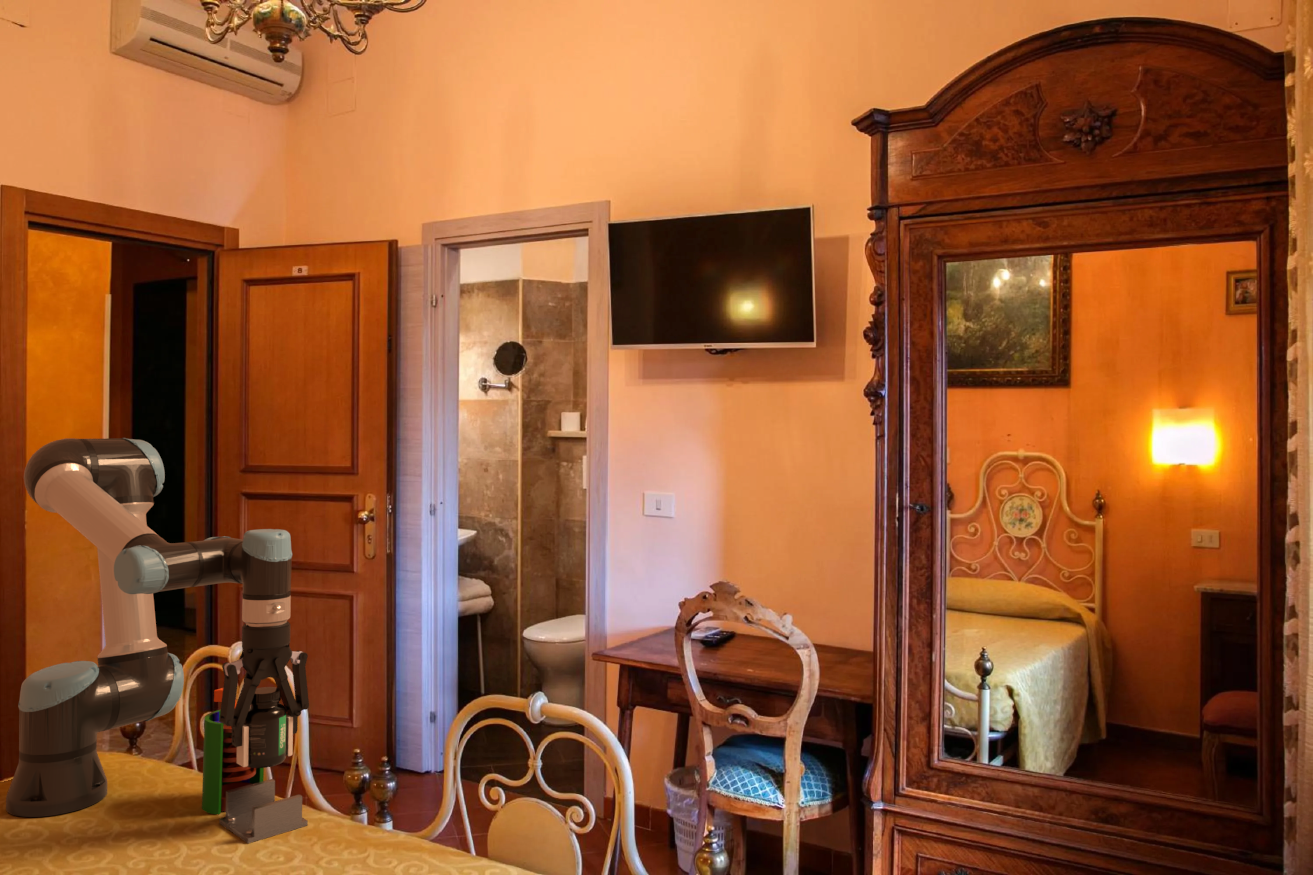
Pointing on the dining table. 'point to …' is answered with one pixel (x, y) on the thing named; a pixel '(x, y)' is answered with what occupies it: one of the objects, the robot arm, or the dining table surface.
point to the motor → (222, 763)
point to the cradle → (261, 812)
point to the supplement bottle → (266, 729)
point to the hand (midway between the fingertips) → (264, 758)
